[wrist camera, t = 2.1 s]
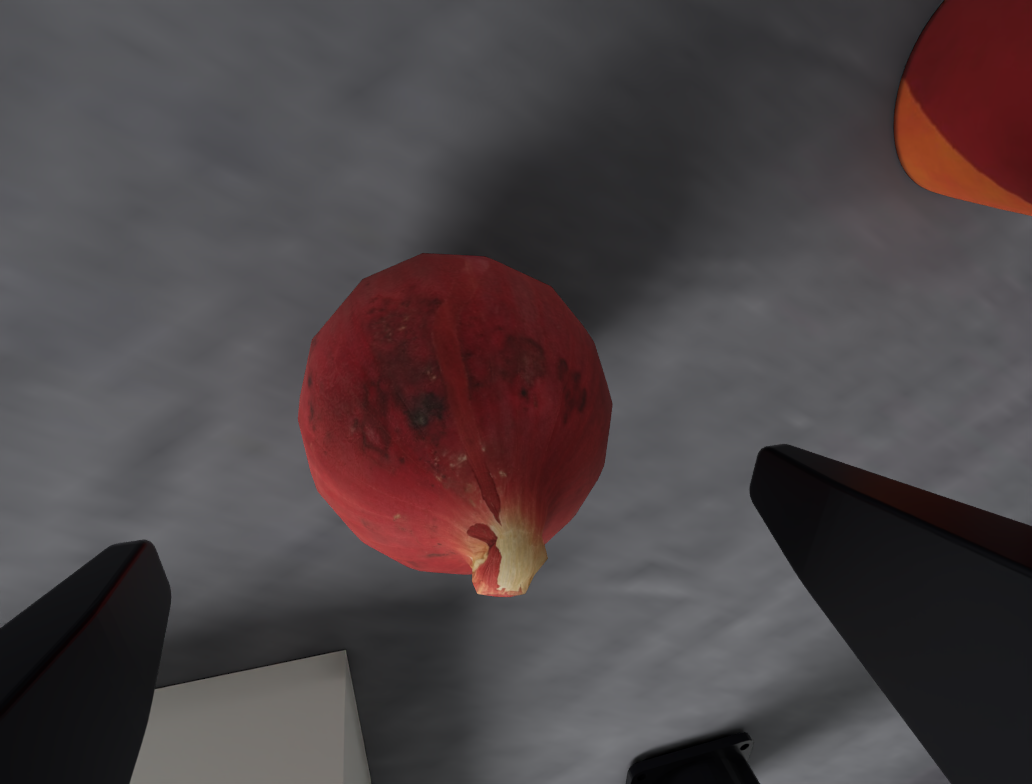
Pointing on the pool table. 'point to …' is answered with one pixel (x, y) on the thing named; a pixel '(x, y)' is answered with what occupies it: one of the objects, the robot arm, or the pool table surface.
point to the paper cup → (970, 104)
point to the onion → (455, 417)
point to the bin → (257, 728)
